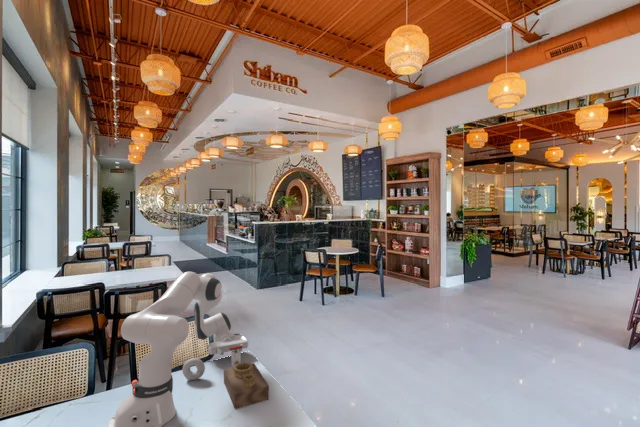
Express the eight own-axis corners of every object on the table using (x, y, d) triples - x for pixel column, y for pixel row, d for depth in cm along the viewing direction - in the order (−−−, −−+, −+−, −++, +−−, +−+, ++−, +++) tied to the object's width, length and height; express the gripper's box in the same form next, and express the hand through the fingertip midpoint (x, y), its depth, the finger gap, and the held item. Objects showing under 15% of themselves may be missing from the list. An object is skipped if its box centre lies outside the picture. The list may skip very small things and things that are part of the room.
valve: (230, 376, 155) (230, 349, 155) (228, 371, 159) (228, 346, 159) (243, 373, 157) (243, 347, 157) (240, 368, 162) (241, 343, 162)
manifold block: (234, 409, 129) (234, 386, 129) (224, 382, 149) (224, 363, 149) (268, 399, 136) (268, 378, 136) (254, 375, 155) (254, 356, 155)
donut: (181, 382, 149) (181, 360, 149) (183, 378, 152) (183, 357, 152) (204, 381, 150) (204, 359, 150) (205, 377, 154) (205, 356, 154)
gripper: (206, 339, 173) (210, 349, 161) (244, 333, 183) (251, 341, 170) (206, 351, 173) (210, 362, 161) (244, 344, 183) (251, 353, 171)
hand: (231, 351), depth 166 cm, fingers open, 8 cm apart
